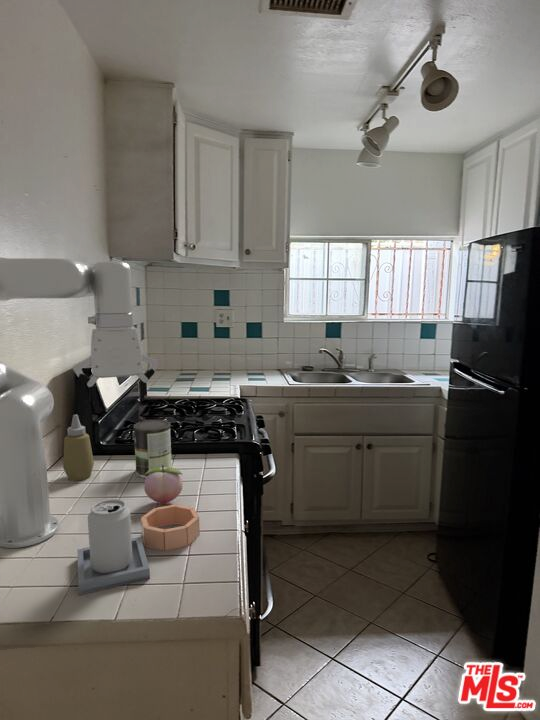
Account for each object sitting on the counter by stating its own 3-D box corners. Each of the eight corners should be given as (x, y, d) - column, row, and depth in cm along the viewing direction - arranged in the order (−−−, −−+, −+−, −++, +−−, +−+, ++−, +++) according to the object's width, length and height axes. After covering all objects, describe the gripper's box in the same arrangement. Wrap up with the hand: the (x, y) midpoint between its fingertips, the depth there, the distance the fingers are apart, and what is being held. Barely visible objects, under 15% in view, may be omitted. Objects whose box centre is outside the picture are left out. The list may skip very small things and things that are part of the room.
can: (120, 579, 85) (116, 516, 83) (82, 574, 87) (78, 512, 85) (139, 556, 92) (136, 498, 91) (104, 552, 94) (101, 495, 92)
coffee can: (130, 478, 132) (128, 429, 130) (141, 464, 142) (139, 419, 140) (167, 478, 132) (165, 429, 130) (175, 465, 142) (174, 419, 140)
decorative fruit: (184, 494, 121) (183, 457, 120) (183, 509, 113) (181, 469, 112) (146, 497, 120) (144, 459, 119) (142, 512, 112) (140, 471, 111)
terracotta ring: (147, 554, 94) (146, 535, 94) (139, 528, 105) (138, 510, 104) (203, 542, 98) (203, 524, 98) (191, 518, 109) (190, 501, 108)
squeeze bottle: (76, 485, 128) (71, 420, 125) (57, 479, 132) (52, 416, 129) (101, 475, 135) (97, 413, 132) (82, 469, 139) (78, 410, 136)
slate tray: (79, 595, 82) (78, 584, 81) (78, 559, 93) (77, 549, 92) (149, 578, 86) (149, 568, 86) (140, 546, 97) (140, 536, 97)
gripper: (69, 324, 92) (75, 410, 95) (159, 321, 99) (162, 401, 101) (69, 322, 99) (75, 402, 102) (153, 319, 106) (156, 394, 108)
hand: (118, 401), depth 101 cm, fingers open, 9 cm apart
